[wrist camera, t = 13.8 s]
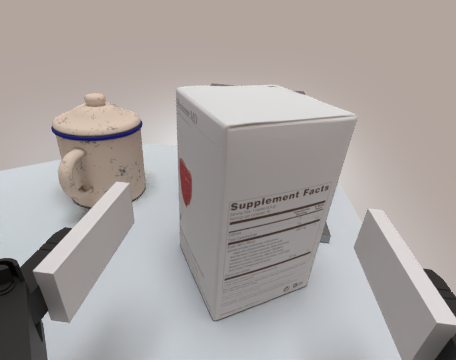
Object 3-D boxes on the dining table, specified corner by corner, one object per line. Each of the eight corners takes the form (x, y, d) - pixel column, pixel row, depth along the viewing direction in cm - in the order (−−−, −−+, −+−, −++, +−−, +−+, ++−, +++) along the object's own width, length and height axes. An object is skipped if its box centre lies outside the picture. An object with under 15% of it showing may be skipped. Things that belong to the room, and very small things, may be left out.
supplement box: (177, 244, 27) (172, 84, 20) (257, 224, 31) (277, 82, 23) (211, 325, 20) (223, 123, 13) (310, 288, 24) (363, 112, 16)
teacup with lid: (94, 169, 39) (77, 83, 34) (157, 176, 39) (151, 90, 33) (32, 221, 29) (-7, 108, 23) (118, 232, 28) (99, 118, 22)
